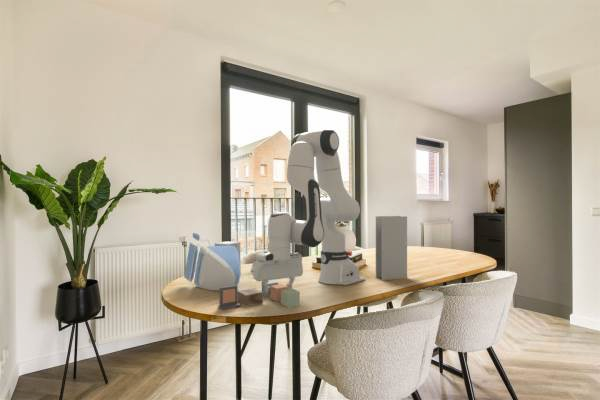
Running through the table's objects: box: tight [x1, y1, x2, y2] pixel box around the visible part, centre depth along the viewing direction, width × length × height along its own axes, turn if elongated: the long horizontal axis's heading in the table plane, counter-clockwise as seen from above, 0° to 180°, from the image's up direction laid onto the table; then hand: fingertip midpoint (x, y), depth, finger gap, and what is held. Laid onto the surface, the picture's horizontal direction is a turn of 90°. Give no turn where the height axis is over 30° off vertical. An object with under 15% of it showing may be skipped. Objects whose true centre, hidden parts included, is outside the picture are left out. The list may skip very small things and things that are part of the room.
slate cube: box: [261, 279, 279, 297], centre depth 137 cm, size 5×5×5 cm
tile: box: [217, 285, 241, 311], centre depth 120 cm, size 7×3×7 cm, turn 123°
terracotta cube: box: [270, 283, 288, 302], centre depth 130 cm, size 5×5×5 cm
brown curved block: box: [237, 288, 264, 306], centre depth 127 cm, size 7×7×4 cm
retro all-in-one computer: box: [183, 232, 242, 291], centre depth 147 cm, size 25×23×17 cm
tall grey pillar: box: [375, 215, 408, 281], centre depth 165 cm, size 14×6×30 cm, turn 108°
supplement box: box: [214, 240, 242, 276], centre depth 169 cm, size 10×9×17 cm
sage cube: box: [280, 288, 301, 308], centre depth 123 cm, size 5×5×5 cm
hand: (278, 290), depth 129 cm, fingers open, 8 cm apart
